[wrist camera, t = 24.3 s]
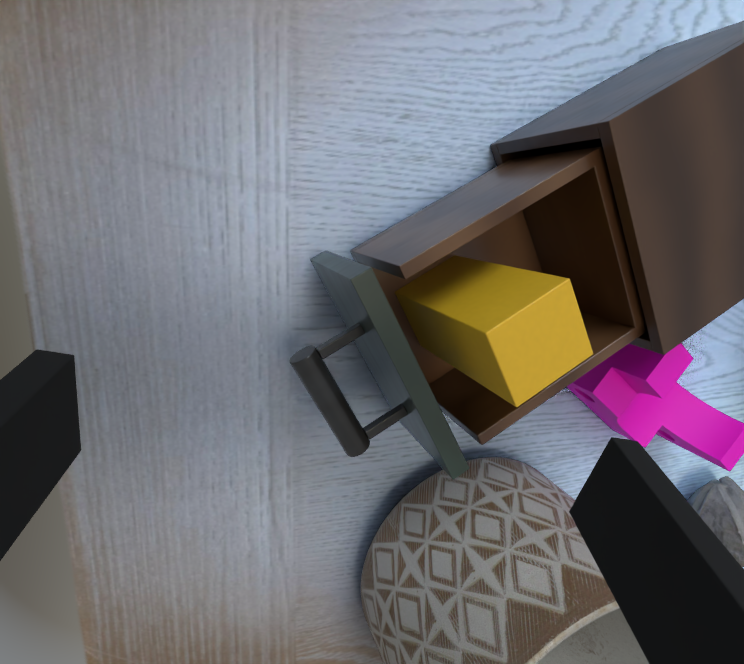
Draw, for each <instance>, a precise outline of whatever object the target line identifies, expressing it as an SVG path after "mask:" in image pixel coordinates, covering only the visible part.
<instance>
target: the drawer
mask: <svg viewBox="0 0 744 664" xmlns="http://www.w3.org/2000/svg"><path fill="white" fill-rule="evenodd" d="M350 252H351V254H352V256H353V258H354V260H355V261H353V260H350V259H347V258H345V257H342V256H339V255H337V254H334V253H331V252H329V251H324V252H322V253H320V254H319V255H317V256H315V257H313V258H312V259H310V260H311V262H312V264H313V266H314V268H315V269H316V271H317V273H318V275H319V277H320V279H321V280H322V282H323V284H324V286H325V288H326V290H327V292H328V293H329V295H330V297H331V299H332V301H333V303H334V304H335V306H336V308H337V310H338V312H339V314H340V316H341V317H342V319H343V321H344V323H345V325H346V327H347V329H346V330H345V331H343V332H341V333H340V334H338V335H336V336H335V337H333V338H331V339H330V340H328V341H326V342H325V343H323V344H322V345H320V346H318V347H317V348H315V347H314V346H308V347H305V348H303V349H301V350H299V351H298V352H296V353H295V354H294V355H293V356H292V357H291V358H290V364H291V365H292V367H293V368H294V370H295V372H296V373H297V375H298V377H299V378H300V380H301V381H302V383H303V385H304V386H305V388H306V389H307V391H308V393H309V394H310V396H311V398H312V399H313V401H314V402H315V404H316V406H317V407H318V409H319V410H320V412H321V414H322V415H323V417H324V419H325V420H326V422H327V423H328V425H329V427H330V428H331V430H332V431H333V433H334V435H335V436H336V438H337V440H338V441H339V443H340V444H341V446H342V448H343V449H344V451H345V452H346V454H347V455H348V456H350V457H355V456H358V455H360V454H362V453H364V452H365V451H366V450H367V449H368V447H369V445H370V440H369V439H371V438H373V437H374V436H376V435H377V434H379V433H380V432H382V431H383V430H385V429H386V428H388V427H390V426H391V425H393V424H394V423H396V422H397V421H399V422H400V423H401V424H402V425H403V426H404V427H405V428H406V429H407V430H408V431H409V432H410V434H411V435H412V436H413V437H414V438H415V439H416V440H417V441H418V442H419V443H420V444H421V446H422V447H423V448H424V449H425V450H426V451H427V452H428V453H429V454H430V455H431V456H432V458H433V459H434V460H435V461H436V462H437V463H438V464H439V465H440V466H441V467H442V468H443V470H444V471H445V472H446V473H447V474H448V475H449V476H450V477H451V478H452V479H453V480H454V479H455V478H457V477H458V476H460V475H461V474H463V473H464V472H465V471H467V470H468V469H469V466H468V464H467V462H466V460H465V458H464V456H463V454H462V452H461V450H460V448H459V446H458V444H457V442H456V440H455V437H454V435H453V433H452V431H451V429H450V427H449V425H448V423H447V421H446V419H445V417H444V415H443V413H442V411H443V412H444V413H445V414H446V415H447V416H449V417H450V418H451V419H452V420H453V421H454V422H456V423H457V424H458V425H459V426H460V427H461V428H463V429H464V430H465V431H466V432H467V433H468V434H470V435H471V436H472V437H473V438H474V439H475V440H477V441H478V442H479V443H480V444H481V445H483V444H484V443H486V442H487V441H489V440H490V439H492V438H493V437H495V436H496V435H497V434H499V433H500V432H502V431H503V430H505V429H506V428H508V427H509V426H510V425H512V424H513V423H515V422H516V421H518V420H519V419H521V418H522V417H523V416H525V415H526V414H528V413H529V412H531V411H532V410H534V409H535V408H537V407H538V406H539V405H541V404H542V403H544V402H545V401H547V400H548V399H550V398H551V397H552V396H554V395H555V394H557V393H558V392H560V391H561V390H563V389H564V388H565V387H567V386H568V385H570V384H571V383H573V382H574V381H576V380H577V379H578V378H580V377H581V376H583V375H584V374H586V373H587V372H589V371H590V370H591V369H593V368H594V367H596V366H597V365H599V364H600V363H602V362H603V361H604V360H606V359H607V358H609V357H610V356H612V355H613V354H615V353H616V352H617V351H619V350H620V349H622V348H623V347H625V346H626V345H628V344H629V343H630V342H632V341H633V340H635V339H636V338H638V337H639V336H641V335H642V334H644V333H645V332H647V329H646V325H645V321H644V317H643V313H642V308H641V304H640V300H639V296H638V292H637V288H636V284H635V280H634V276H633V272H632V268H631V264H630V260H629V256H628V252H627V248H626V244H625V239H624V235H623V231H622V227H621V223H620V219H619V215H618V211H617V207H616V203H615V199H614V195H613V191H612V187H611V183H610V179H609V175H608V170H607V166H606V162H605V157H604V153H603V149H602V147H595V148H588V149H581V150H574V151H566V152H559V153H552V154H545V155H538V156H531V157H524V158H517V159H512V160H508V161H506V162H504V163H502V164H501V165H499V166H497V167H495V168H494V169H492V170H490V171H488V172H487V173H485V174H483V175H481V176H480V177H478V178H476V179H474V180H473V181H471V182H469V183H467V184H466V185H464V186H462V187H460V188H459V189H457V190H455V191H453V192H452V193H450V194H448V195H446V196H444V197H443V198H441V199H439V200H437V201H436V202H434V203H432V204H430V205H429V206H427V207H425V208H423V209H422V210H420V211H418V212H416V213H415V214H413V215H411V216H409V217H408V218H406V219H404V220H402V221H401V222H399V223H397V224H395V225H394V226H392V227H390V228H388V229H387V230H385V231H383V232H381V233H380V234H378V235H376V236H374V237H373V238H371V239H369V240H367V241H366V242H364V243H362V244H360V245H359V246H357V247H355V248H353V249H352V250H351V251H350ZM454 255H456V256H461V257H466V258H471V259H476V260H480V261H485V262H490V263H495V264H500V265H505V266H510V267H515V268H520V269H525V270H530V271H535V272H540V273H544V274H549V275H554V276H559V277H564V278H569V279H570V281H571V284H572V287H573V291H574V294H575V297H576V300H577V303H578V306H579V310H580V313H581V316H582V319H583V322H584V325H585V329H586V332H587V335H588V338H589V341H590V344H591V348H592V351H593V355H592V356H590V357H589V358H587V359H586V360H584V361H583V362H581V363H580V364H579V365H577V366H576V367H574V368H573V369H571V370H570V371H569V372H567V373H566V374H564V375H563V376H561V377H560V378H558V379H557V380H556V381H554V382H553V383H551V384H550V385H548V386H547V387H546V388H544V389H543V390H541V391H540V392H538V393H537V394H536V395H534V396H533V397H531V398H530V399H528V400H527V401H525V402H524V403H523V404H521V405H520V406H518V407H515V406H514V405H512V404H511V403H509V402H507V401H506V400H504V399H503V398H501V397H500V396H498V395H497V394H495V393H493V392H492V391H490V390H489V389H487V388H486V387H484V386H483V385H481V384H479V383H478V382H476V381H475V380H473V379H472V378H470V377H469V376H467V375H465V374H464V373H462V372H461V371H459V370H458V369H456V368H455V367H453V366H452V365H450V364H448V363H447V362H445V361H444V360H442V359H441V358H439V357H438V356H436V355H434V354H433V353H431V352H430V351H428V350H427V349H425V348H424V347H422V346H421V345H420V343H419V341H418V339H417V337H416V335H415V333H414V331H413V329H412V327H411V325H410V323H409V321H408V319H407V316H406V314H405V312H404V310H403V308H402V306H401V304H400V302H399V300H398V298H397V296H396V294H395V292H396V291H397V290H399V289H400V288H402V287H404V286H405V285H407V284H409V283H410V282H412V281H413V280H415V279H417V278H418V277H420V276H422V275H423V274H425V273H427V272H428V271H430V270H431V269H433V268H435V267H436V266H438V265H440V264H441V263H443V262H445V261H446V260H448V259H449V258H451V257H453V256H454ZM352 341H355V343H356V345H357V347H358V349H359V351H360V353H361V354H362V356H363V358H364V360H365V362H366V364H367V365H368V367H369V369H370V371H371V373H372V375H373V377H374V378H375V380H376V382H377V384H378V386H379V388H380V390H381V391H382V393H383V395H384V397H385V399H386V401H387V402H388V404H389V406H390V408H391V410H390V411H388V412H387V413H385V414H384V415H382V416H381V417H379V418H378V419H376V420H375V421H373V422H371V423H370V424H368V425H367V426H365V427H364V428H362V426H361V425H360V423H359V421H358V420H357V418H356V416H355V414H354V413H353V411H352V409H351V408H350V406H349V404H348V402H347V401H346V399H345V397H344V396H343V394H342V392H341V390H340V389H339V387H338V385H337V384H336V382H335V380H334V378H333V377H332V375H331V373H330V372H329V370H328V368H327V366H326V365H325V363H324V361H323V360H322V359H324V358H326V357H327V356H329V355H331V354H332V353H334V352H336V351H337V350H339V349H341V348H342V347H344V346H345V345H347V344H349V343H350V342H352ZM441 410H442V411H441Z"/></svg>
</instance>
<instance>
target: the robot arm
mask: <svg viewBox="0 0 744 664" xmlns="http://www.w3.org/2000/svg"><path fill="white" fill-rule="evenodd" d="M80 451H81V443H80V429H79V416H78V402H77V389H76V375H75V362H74V355H69V354H63V353H56V352H50V351H43V350H35V351H34V352H33V353H32V354H31V355H29V356H28V357H27V358H26V359H25V360H24V361H22V362H21V363H20V364H19V365H18V366H16V367H15V368H14V369H13V370H12V371H11V372H9V373H8V374H7V375H6V376H5V377H3V378H2V379H1V380H0V561H1V559H2V558H3V556H4V555H5V554H6V552H7V551H8V550H9V548H10V547H11V546H12V544H13V543H14V541H15V540H16V539H17V537H18V536H19V535H20V533H21V532H22V530H23V529H24V528H25V526H26V525H27V524H28V522H29V521H30V519H31V518H32V517H33V515H34V514H35V513H36V511H37V510H38V509H39V507H40V506H41V504H42V503H43V502H44V500H45V499H46V498H47V496H48V495H49V494H50V492H51V491H52V489H53V488H54V487H55V485H56V484H57V483H58V481H59V480H60V479H61V477H62V476H63V474H64V473H65V472H66V470H67V469H68V468H69V466H70V465H71V463H72V462H73V461H74V459H75V458H76V457H77V455H78V454H79V453H80ZM569 513H570V515H571V517H572V519H573V520H574V522H575V524H576V526H577V528H578V530H579V532H580V534H581V536H582V537H583V539H584V541H585V543H586V545H587V547H588V549H589V551H590V553H591V554H592V556H593V558H594V560H595V562H596V564H597V566H598V568H599V570H600V572H601V573H602V575H603V577H604V579H605V581H606V583H607V585H608V587H609V589H610V590H611V592H612V594H613V596H614V598H615V600H616V602H617V604H618V606H619V608H620V609H621V611H622V613H623V615H624V617H625V619H626V621H627V623H628V625H629V626H630V628H631V630H632V632H633V634H634V636H635V638H636V640H637V642H638V644H639V645H640V647H641V649H642V651H643V653H644V655H645V657H646V659H647V661H648V662H649V664H744V569H743V568H742V567H741V565H740V564H739V563H738V562H737V561H736V559H735V558H734V557H733V556H732V555H731V553H730V552H729V551H728V550H727V548H726V547H725V546H724V545H723V544H722V542H721V541H720V540H719V539H718V538H717V536H716V535H715V534H714V533H713V532H712V530H711V529H710V528H709V527H708V526H707V524H706V523H705V522H704V521H703V520H702V518H701V517H700V516H699V515H698V513H697V512H696V511H695V510H694V509H693V507H692V506H691V505H690V504H689V503H688V501H687V500H686V499H685V498H684V497H683V495H682V494H681V493H680V492H679V491H678V489H677V488H676V487H675V486H674V485H673V483H672V482H671V481H670V480H669V478H668V477H667V476H666V475H665V474H664V472H663V471H662V470H661V469H660V468H659V466H658V465H657V464H656V463H655V462H654V460H653V459H652V458H651V457H650V456H649V454H648V453H647V452H646V451H645V450H644V448H643V447H642V446H641V445H640V443H639V442H638V441H632V440H626V439H619V438H613V437H611V439H610V441H609V442H608V444H607V446H606V448H605V449H604V451H603V453H602V455H601V456H600V458H599V460H598V462H597V463H596V465H595V467H594V469H593V470H592V472H591V474H590V476H589V477H588V479H587V481H586V483H585V484H584V486H583V488H582V490H581V491H580V493H579V495H578V497H577V498H576V500H575V502H574V504H573V505H572V507H571V509H570V511H569Z"/></svg>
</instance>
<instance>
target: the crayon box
mask: <svg viewBox="0 0 744 664" xmlns="http://www.w3.org/2000/svg"><path fill="white" fill-rule="evenodd" d="M395 294H396V296H397V298H398V300H399V302H400V304H401V306H402V308H403V310H404V312H405V314H406V316H407V319H408V321H409V323H410V325H411V327H412V329H413V331H414V333H415V335H416V337H417V339H418V341H419V343H420V345H421V346H422V347H424V348H425V349H427V350H428V351H430V352H431V353H433V354H434V355H436V356H438V357H439V358H441V359H442V360H444V361H445V362H447V363H448V364H450V365H452V366H453V367H455V368H456V369H458V370H459V371H461V372H462V373H464V374H465V375H467V376H469V377H470V378H472V379H473V380H475V381H476V382H478V383H479V384H481V385H483V386H484V387H486V388H487V389H489V390H490V391H492V392H493V393H495V394H497V395H498V396H500V397H501V398H503V399H504V400H506V401H507V402H509V403H511V404H512V405H514V406H515V407H518V406H520V405H521V404H523V403H524V402H525V401H527V400H528V399H530V398H531V397H533V396H534V395H536V394H537V393H538V392H540V391H541V390H543V389H544V388H546V387H547V386H548V385H550V384H551V383H553V382H554V381H556V380H557V379H558V378H560V377H561V376H563V375H564V374H566V373H567V372H569V371H570V370H571V369H573V368H574V367H576V366H577V365H579V364H580V363H581V362H583V361H584V360H586V359H587V358H589V357H590V356H592V355H593V351H592V348H591V344H590V341H589V338H588V335H587V332H586V329H585V325H584V322H583V319H582V316H581V313H580V310H579V306H578V303H577V300H576V297H575V294H574V291H573V287H572V284H571V281H570V279H569V278H564V277H559V276H554V275H549V274H544V273H540V272H535V271H530V270H525V269H520V268H515V267H510V266H505V265H500V264H495V263H490V262H485V261H480V260H476V259H471V258H466V257H461V256H456V255H454V256H453V257H451V258H449V259H448V260H446V261H445V262H443V263H441V264H440V265H438V266H436V267H435V268H433V269H431V270H430V271H428V272H427V273H425V274H423V275H422V276H420V277H418V278H417V279H415V280H413V281H412V282H410V283H409V284H407V285H405V286H404V287H402V288H400V289H399V290H397V291H396V292H395Z"/></svg>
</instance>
